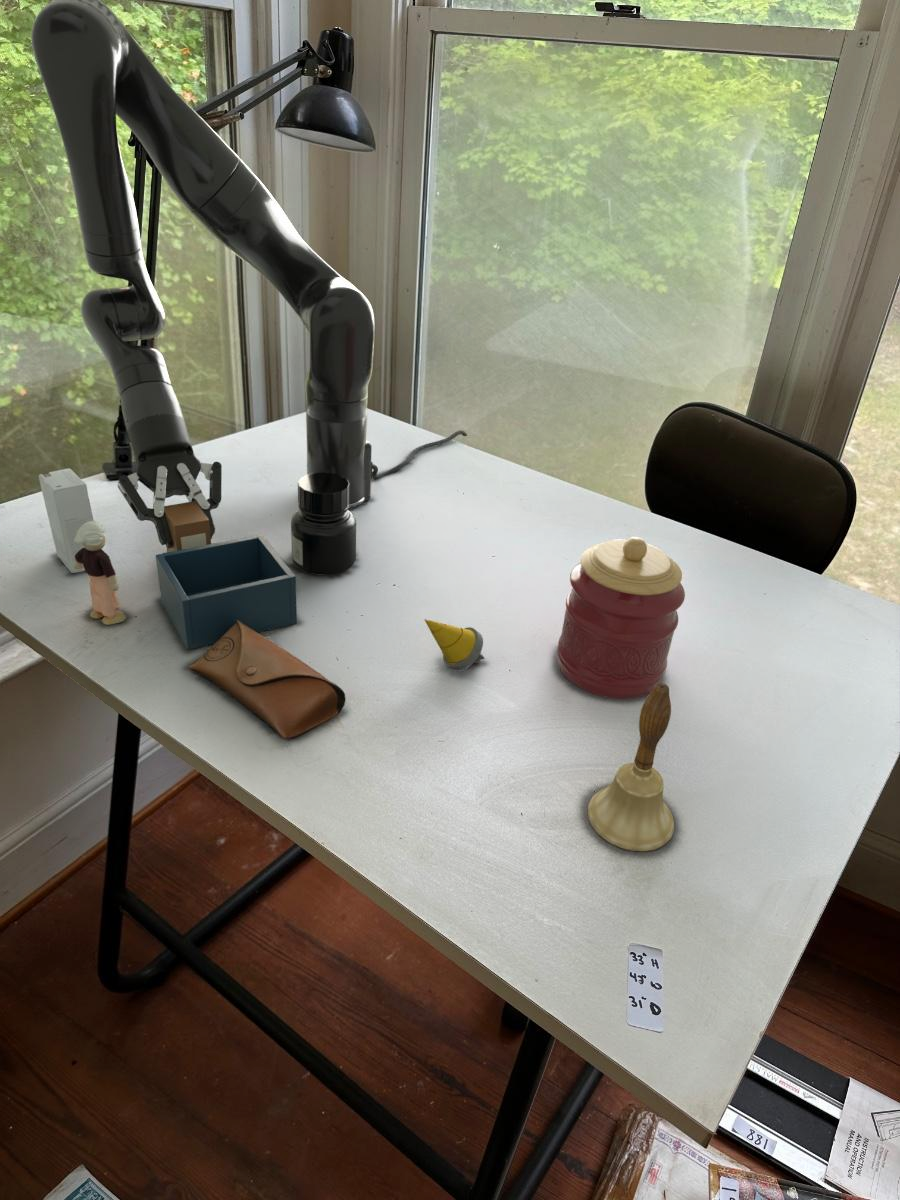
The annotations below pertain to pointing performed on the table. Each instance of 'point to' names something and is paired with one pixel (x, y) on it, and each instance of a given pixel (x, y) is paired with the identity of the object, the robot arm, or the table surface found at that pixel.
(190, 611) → the open storage box
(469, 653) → the yellow spinning top
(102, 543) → the grandmother figurine
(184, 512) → the brown packet
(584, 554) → the kitchen canister
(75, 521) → the cosmetic box
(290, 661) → the sunglasses case
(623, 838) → the hand bell
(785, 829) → the table surface
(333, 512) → the ink bottle
